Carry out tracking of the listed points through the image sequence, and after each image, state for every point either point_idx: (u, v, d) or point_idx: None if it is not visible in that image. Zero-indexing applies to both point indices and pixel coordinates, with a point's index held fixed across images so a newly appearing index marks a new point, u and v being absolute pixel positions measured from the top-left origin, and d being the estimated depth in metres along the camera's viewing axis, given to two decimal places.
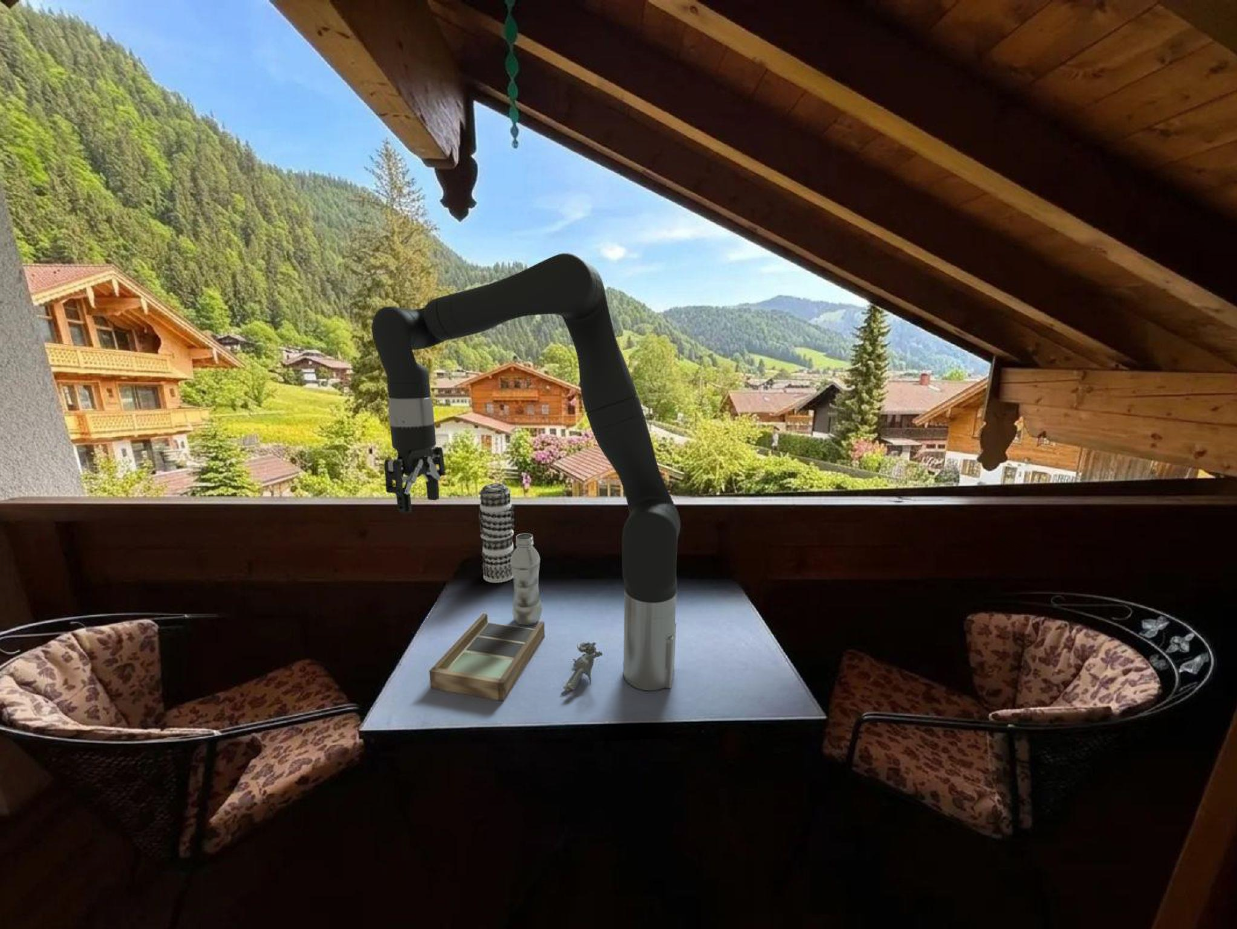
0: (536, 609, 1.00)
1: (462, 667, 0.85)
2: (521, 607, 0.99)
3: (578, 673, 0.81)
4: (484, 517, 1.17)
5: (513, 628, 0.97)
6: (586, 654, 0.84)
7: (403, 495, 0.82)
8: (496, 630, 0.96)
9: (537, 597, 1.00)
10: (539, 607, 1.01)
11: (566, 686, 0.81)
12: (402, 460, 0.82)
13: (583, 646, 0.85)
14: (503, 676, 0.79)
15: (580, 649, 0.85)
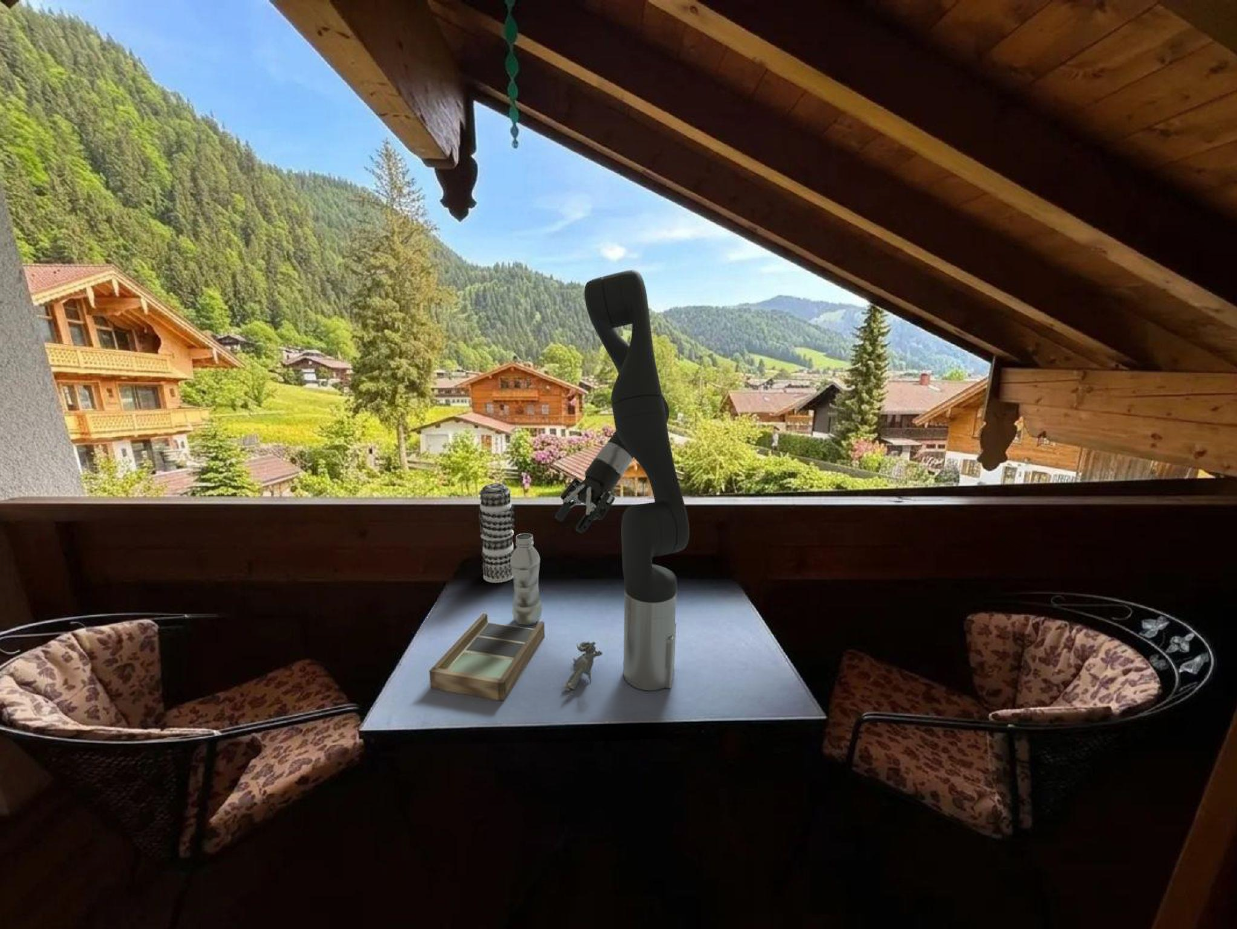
0: (536, 609, 1.00)
1: (462, 667, 0.85)
2: (521, 607, 0.99)
3: (578, 673, 0.81)
4: (484, 517, 1.17)
5: (513, 628, 0.97)
6: (586, 654, 0.85)
7: (563, 503, 1.06)
8: (496, 630, 0.96)
9: (537, 597, 1.00)
10: (539, 607, 1.01)
11: (566, 686, 0.81)
12: None
13: (583, 646, 0.85)
14: (503, 676, 0.79)
15: (580, 649, 0.85)
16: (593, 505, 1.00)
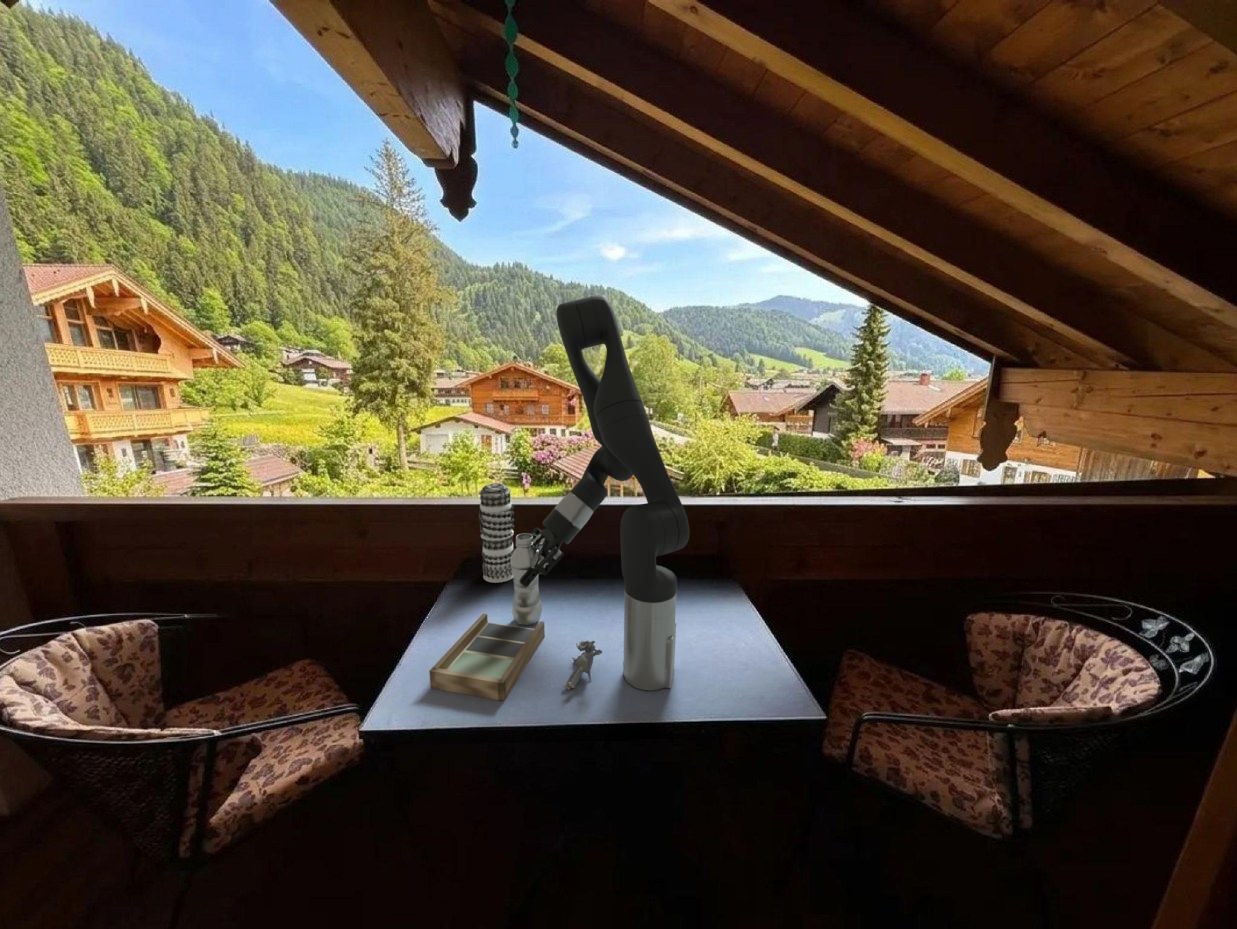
0: (536, 609, 1.00)
1: (462, 667, 0.85)
2: (521, 607, 0.99)
3: (578, 671, 0.82)
4: (484, 517, 1.17)
5: (513, 628, 0.97)
6: (585, 652, 0.85)
7: None
8: (496, 630, 0.96)
9: (537, 597, 1.00)
10: (539, 607, 1.01)
11: (566, 685, 0.81)
12: None
13: (582, 645, 0.86)
14: (503, 676, 0.79)
15: (579, 648, 0.85)
16: (541, 558, 0.97)
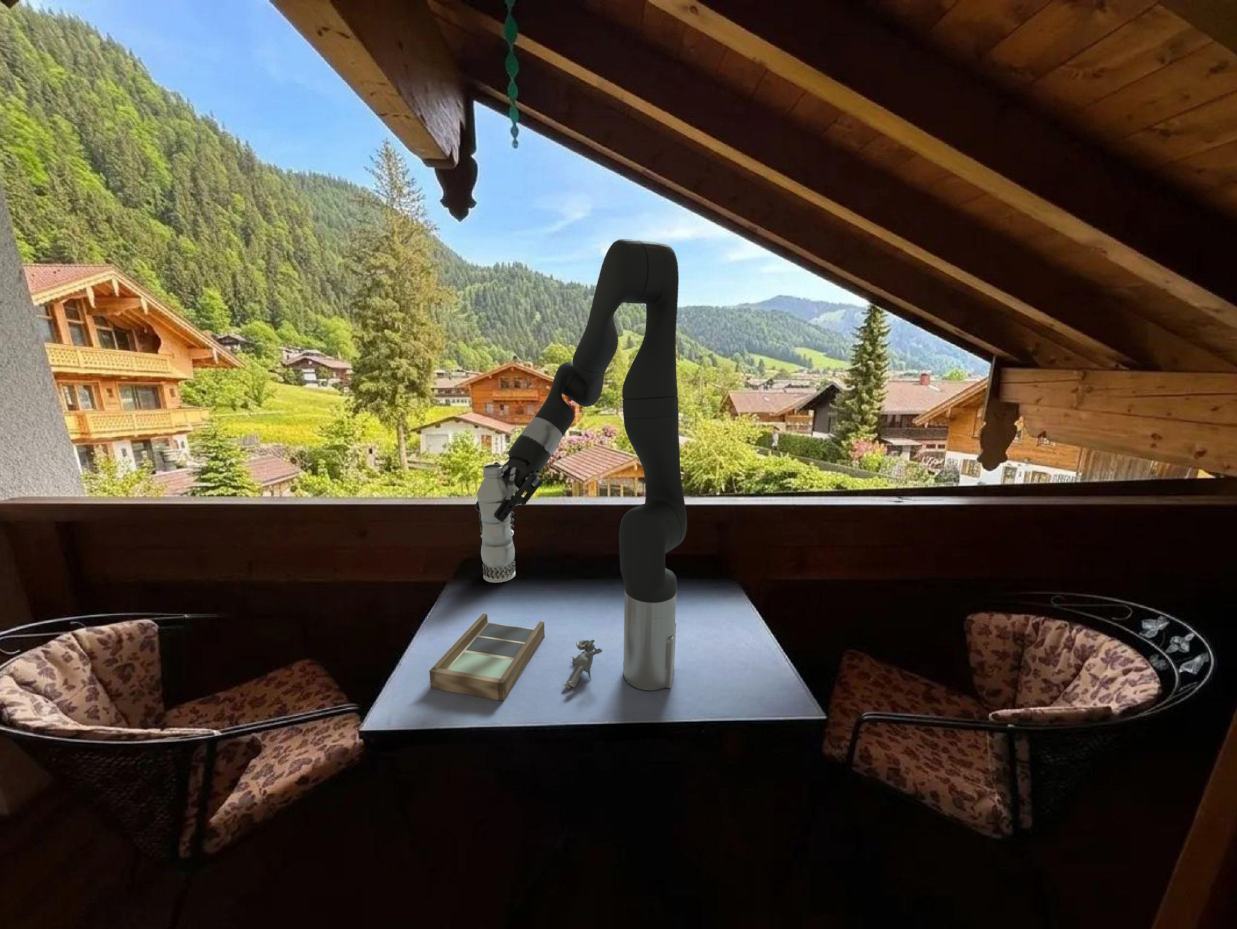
0: (511, 548, 0.89)
1: (462, 667, 0.85)
2: (495, 547, 0.87)
3: (578, 670, 0.82)
4: None
5: (513, 628, 0.97)
6: (585, 651, 0.85)
7: None
8: (496, 630, 0.96)
9: (510, 535, 0.89)
10: (513, 546, 0.90)
11: (567, 684, 0.81)
12: (504, 466, 0.93)
13: (582, 644, 0.86)
14: (503, 676, 0.79)
15: (579, 647, 0.85)
16: (516, 489, 0.87)
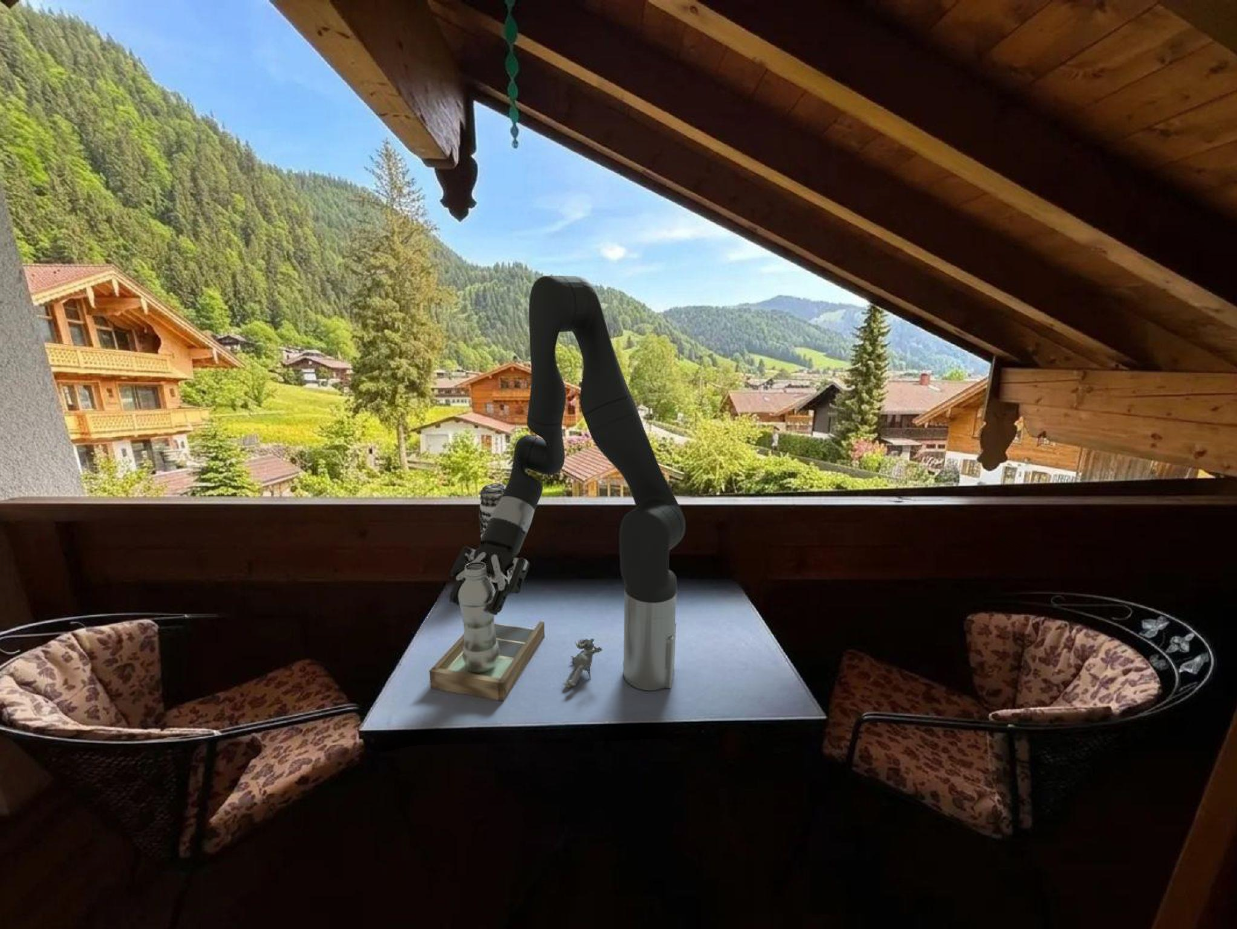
0: (497, 647, 0.84)
1: (462, 667, 0.85)
2: (483, 651, 0.81)
3: (578, 669, 0.82)
4: (484, 517, 1.17)
5: (513, 628, 0.97)
6: (585, 650, 0.85)
7: (456, 581, 0.84)
8: (496, 630, 0.96)
9: (495, 633, 0.84)
10: None
11: (567, 683, 0.81)
12: (476, 551, 0.87)
13: (581, 643, 0.86)
14: (503, 676, 0.79)
15: (579, 646, 0.86)
16: (504, 577, 0.82)
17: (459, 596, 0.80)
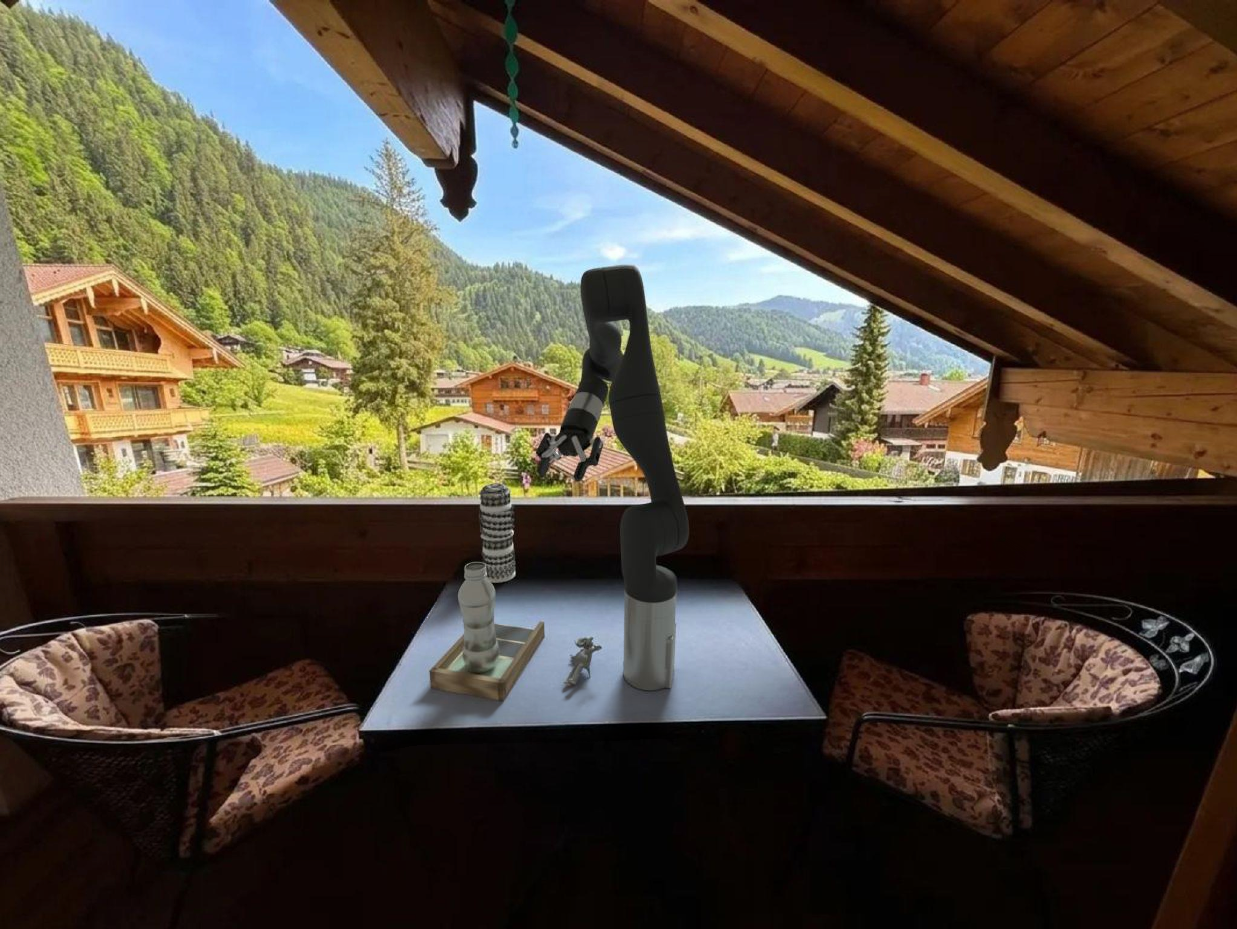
0: (497, 647, 0.84)
1: (462, 667, 0.85)
2: (483, 651, 0.81)
3: (578, 668, 0.83)
4: (484, 517, 1.17)
5: (513, 628, 0.97)
6: (584, 649, 0.86)
7: (541, 459, 1.00)
8: (496, 630, 0.96)
9: (495, 633, 0.84)
10: None
11: (567, 681, 0.82)
12: (556, 437, 1.03)
13: (581, 641, 0.87)
14: (503, 676, 0.79)
15: (578, 644, 0.86)
16: (584, 453, 0.98)
17: (459, 596, 0.80)
